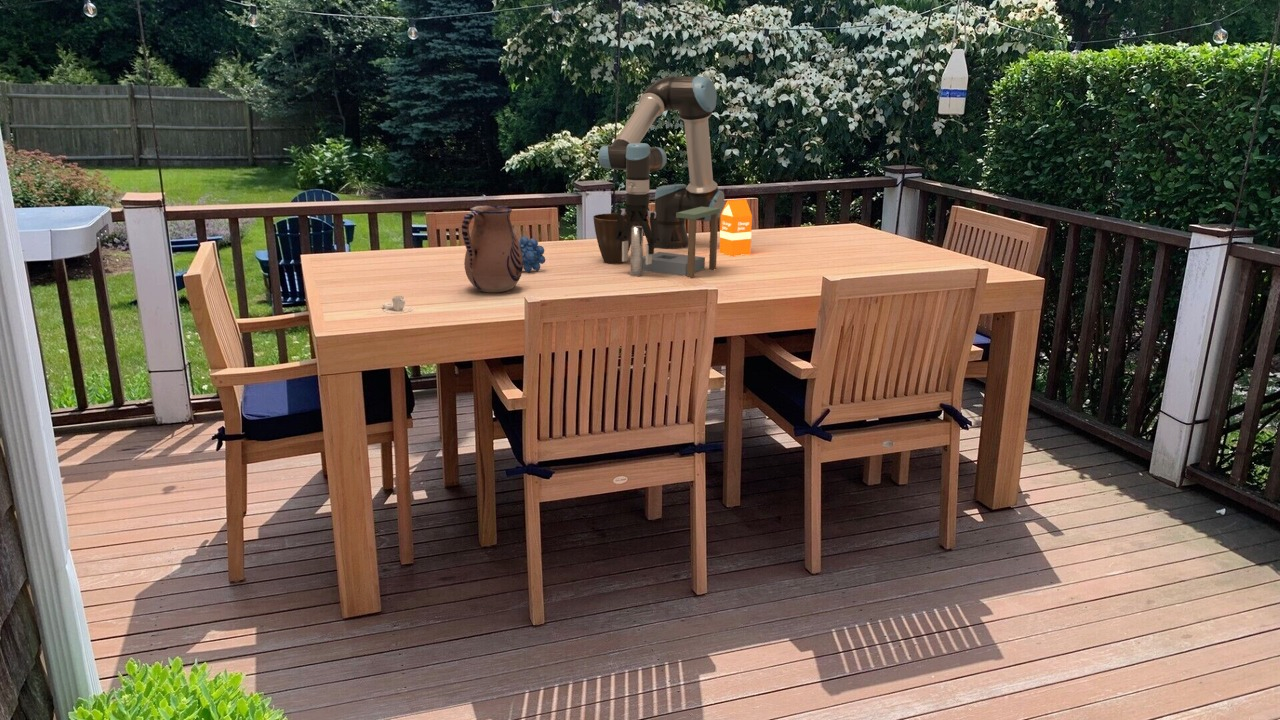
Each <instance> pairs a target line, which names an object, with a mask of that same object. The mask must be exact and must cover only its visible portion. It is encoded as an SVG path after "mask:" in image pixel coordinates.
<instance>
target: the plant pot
mask: <svg viewBox="0 0 1280 720" xmlns="http://www.w3.org/2000/svg"><path fill="white" fill-rule="evenodd" d="M592 218H593V219H592V220H593V225H594V232H595V236H596V240H597V241H596V242H597V244H598V248H599V252H600V254H601V257H602V260H603V262H604V263H605V264H611V265H612V264H613V265H620V264H623V263H625V262H626V261H624V262H623V261H622V251H620V240H618V239H615V232H616V226H617V220H618V213H599V214H595V215H593V216H592ZM627 218H628V215H627V214H625V220H624V226H623V229H624V227H625V224H626V220H627ZM636 223H637V222H636V221H635V222H634V223H633V224H632V226H636ZM625 241H628V253H629V252H630V250H631V229H630V231H629V234H628V236H627V240H625Z"/></svg>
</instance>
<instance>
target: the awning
mask: <svg viewBox="0 0 1280 720" xmlns="http://www.w3.org/2000/svg"><path fill="white" fill-rule="evenodd" d="M718 213H720V208H711V207H698V208H694V209H690V210H686V211H682V212H678V213H676V218H686V219H689V220H688V230H687V231H688V232H687V235H688V246H687V255H688V263H687V276H686V277H690V279H694V278H695V277H696V276H695V274H696V272H695V256H696V245H697V243H696V242H697V241H696V239H697V238H696V237H697V236H696V235H697V220H696V219H699V218H702V217H706V216H710V215H711V221H710V225H709V226H710V233H709V234H710V235H709V261H708V269H709V270H710V269H711V271H712V270H713V271H714V269H715V270H716V269H717V256H718V253H717V251H718V224H719V223H718V222H719V218H718ZM686 219H685V220H686ZM693 277H694V278H693Z"/></svg>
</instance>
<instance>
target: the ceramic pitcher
mask: <svg viewBox="0 0 1280 720" xmlns="http://www.w3.org/2000/svg"><path fill="white" fill-rule="evenodd" d="M469 210H470V211H469V212H467V213H466V214H465V215H464V217H463V219H462V222H461V223H462V224H461V235H462V239H463V242H464V243H463V244H464V246H465V248H466V251H465V256H464V261H463V262H464V271H465V274H466V276H467V279H468V280H469V282H470V284H472V286H473V287H474V288H476V289H477V290H478V291H479V292H484V293H492V294H493V293H502V292H507V291H510V290H511V289H513V288H514V287H515V286H516V285H517V284H518V282H519V281H520V279H521V277H522V273H523V270H524V269H523V258H522V253H521V249H520V245H519V242H520V241H519V240H518V237H517V232H516V230H515V228H514V227H513V224H512V221H511V213H512V212H513V211H512V209H511V208H509V206H508V205H497V206H491V205H486V204H485V205H475V206H474V207H471V208H470V209H469ZM472 220H473V226H472V229H471V233H470V230H469V227H470V224H471V221H472ZM518 241H519V242H518Z"/></svg>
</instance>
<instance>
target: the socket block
mask: <svg viewBox="0 0 1280 720" xmlns="http://www.w3.org/2000/svg"><path fill="white" fill-rule="evenodd" d="M687 263H688V254H679V253H672V252H665V251H664V252H663V251H657V252H654V254H652V263H651V264H648V265H646V255H643V271H644V272H653V273H659V272H661V273H660V274H667V273H669V275H674V274H677V275H676V276H682V275H685V276H684V277H687V276H686V275H687ZM705 266H706V257H705V256H697V255H695V273H698V272H700V271H702V270H705Z"/></svg>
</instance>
